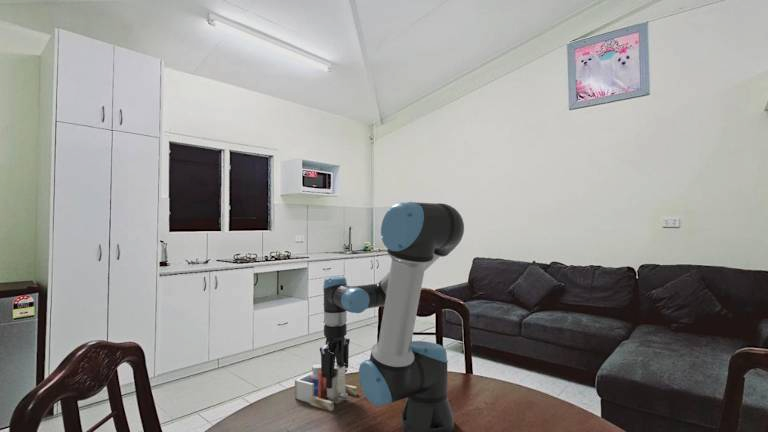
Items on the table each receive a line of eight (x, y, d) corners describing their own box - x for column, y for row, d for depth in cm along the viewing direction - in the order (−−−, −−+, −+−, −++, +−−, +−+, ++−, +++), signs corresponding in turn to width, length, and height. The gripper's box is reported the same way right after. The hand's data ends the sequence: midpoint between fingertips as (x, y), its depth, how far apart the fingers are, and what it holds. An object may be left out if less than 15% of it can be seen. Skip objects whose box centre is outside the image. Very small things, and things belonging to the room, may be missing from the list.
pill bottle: (306, 396, 131) (306, 367, 131) (316, 390, 136) (316, 362, 136) (319, 399, 128) (319, 369, 129) (329, 393, 133) (328, 364, 134)
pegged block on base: (352, 399, 128) (351, 365, 129) (341, 406, 123) (341, 371, 124) (329, 393, 133) (329, 361, 134) (318, 399, 128) (318, 366, 128)
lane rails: (357, 394, 132) (357, 387, 132) (331, 411, 120) (331, 403, 120) (336, 388, 137) (336, 382, 137) (309, 404, 125) (309, 397, 125)
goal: (334, 389, 136) (334, 372, 136) (311, 403, 126) (311, 384, 126) (318, 385, 140) (318, 368, 140) (294, 398, 129) (294, 380, 130)
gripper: (341, 317, 138) (341, 383, 138) (309, 328, 124) (309, 402, 123) (358, 319, 134) (359, 387, 134) (327, 331, 120) (328, 407, 119)
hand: (335, 394), depth 128 cm, fingers closed on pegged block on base, 4 cm apart
